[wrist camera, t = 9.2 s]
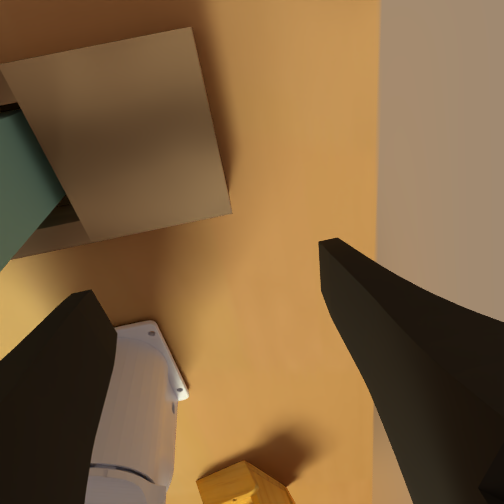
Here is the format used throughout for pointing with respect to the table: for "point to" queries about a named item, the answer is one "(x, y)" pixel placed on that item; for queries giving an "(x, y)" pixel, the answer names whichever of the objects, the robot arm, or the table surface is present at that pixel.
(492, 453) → the robot arm
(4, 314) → the table surface
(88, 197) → the walnut rail
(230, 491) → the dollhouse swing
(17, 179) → the teal peg
